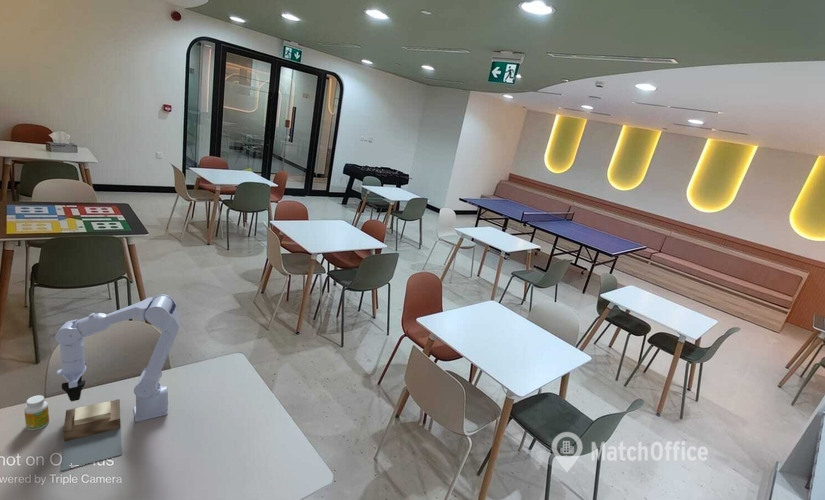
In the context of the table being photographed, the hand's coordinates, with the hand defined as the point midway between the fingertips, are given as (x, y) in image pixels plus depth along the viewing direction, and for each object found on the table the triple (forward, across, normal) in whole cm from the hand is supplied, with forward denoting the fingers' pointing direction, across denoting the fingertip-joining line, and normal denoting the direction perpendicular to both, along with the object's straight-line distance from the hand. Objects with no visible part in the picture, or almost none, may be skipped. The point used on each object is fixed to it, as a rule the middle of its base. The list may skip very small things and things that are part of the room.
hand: (75, 392), depth 128 cm
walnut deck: (+10, +6, +4) cm, 12 cm away
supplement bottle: (+10, 0, -10) cm, 14 cm away
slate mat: (+10, +17, +4) cm, 20 cm away
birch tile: (+6, +6, +4) cm, 9 cm away
